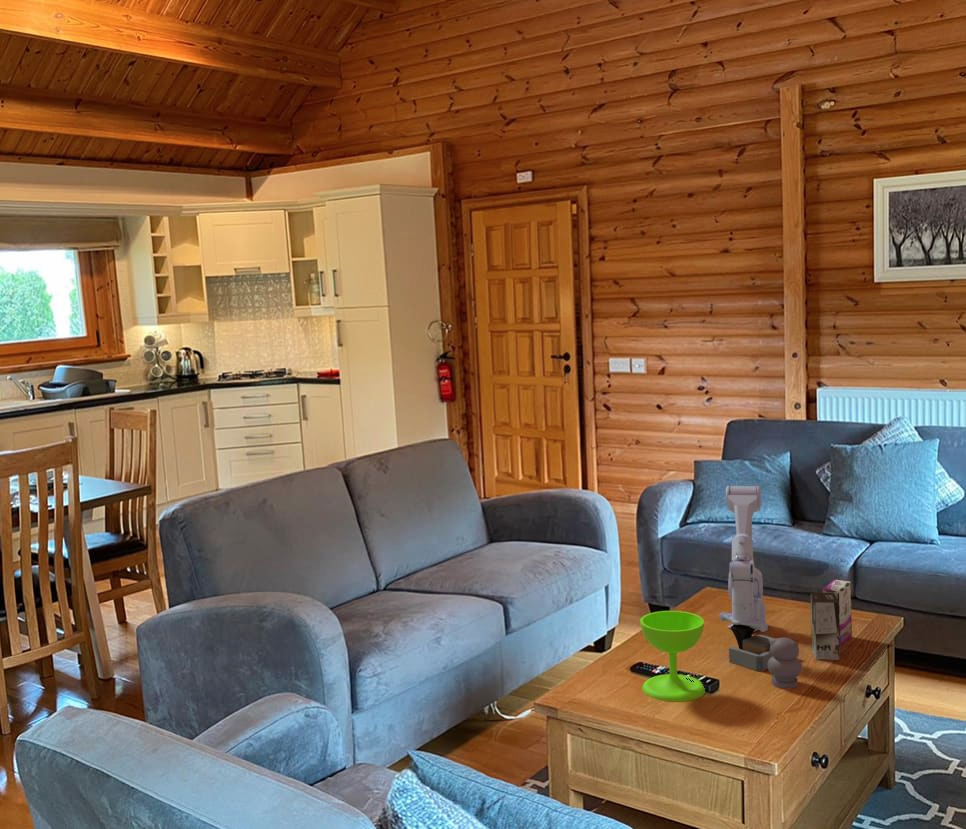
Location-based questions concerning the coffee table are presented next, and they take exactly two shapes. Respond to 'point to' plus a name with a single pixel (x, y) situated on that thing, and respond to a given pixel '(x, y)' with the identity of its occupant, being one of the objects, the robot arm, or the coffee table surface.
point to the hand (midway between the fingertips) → (743, 650)
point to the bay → (750, 658)
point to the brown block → (756, 644)
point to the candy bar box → (842, 607)
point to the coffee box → (825, 625)
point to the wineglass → (672, 653)
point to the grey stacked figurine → (784, 663)
